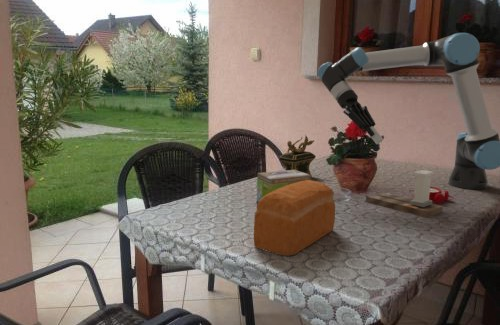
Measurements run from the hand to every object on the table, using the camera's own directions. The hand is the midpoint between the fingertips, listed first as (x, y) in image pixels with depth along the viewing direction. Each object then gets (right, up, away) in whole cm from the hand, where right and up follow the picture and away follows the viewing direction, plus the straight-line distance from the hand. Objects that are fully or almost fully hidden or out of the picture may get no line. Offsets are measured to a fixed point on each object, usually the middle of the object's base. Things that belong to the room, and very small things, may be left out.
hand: (379, 142), depth 151 cm
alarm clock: (+22, -22, +5) cm, 31 cm away
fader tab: (+11, -22, -9) cm, 26 cm away
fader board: (+7, -23, -4) cm, 25 cm away
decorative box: (-25, -15, +42) cm, 51 cm away
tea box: (-37, -26, -15) cm, 48 cm away
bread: (-35, -30, -34) cm, 57 cm away
